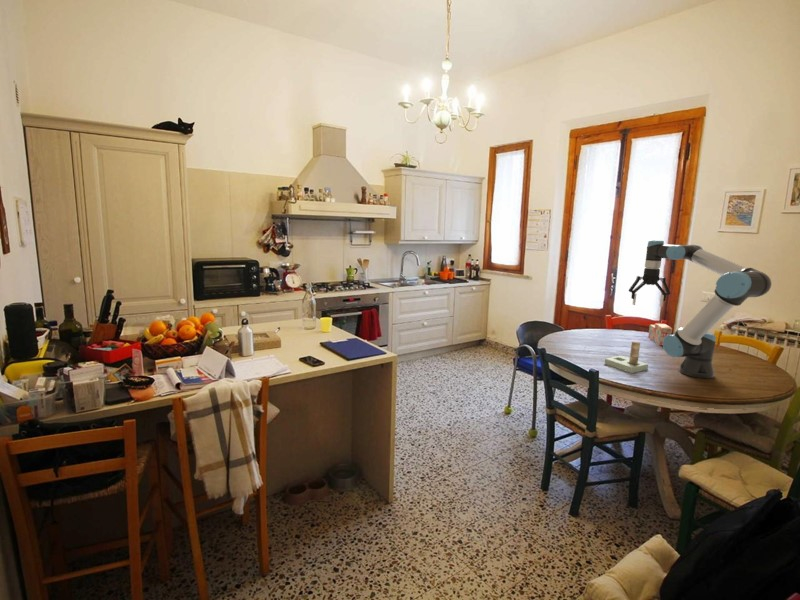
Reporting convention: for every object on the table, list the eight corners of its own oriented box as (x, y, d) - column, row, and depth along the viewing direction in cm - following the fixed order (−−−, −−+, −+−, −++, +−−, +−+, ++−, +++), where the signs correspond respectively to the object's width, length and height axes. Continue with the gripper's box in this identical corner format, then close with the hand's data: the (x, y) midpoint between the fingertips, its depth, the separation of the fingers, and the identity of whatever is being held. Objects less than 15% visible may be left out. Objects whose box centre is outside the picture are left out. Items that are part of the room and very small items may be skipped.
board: (647, 369, 225) (648, 364, 224) (631, 373, 219) (632, 367, 218) (620, 360, 239) (621, 355, 238) (604, 363, 233) (605, 358, 232)
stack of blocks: (647, 337, 293) (650, 320, 290) (657, 337, 291) (660, 320, 289) (659, 345, 272) (661, 327, 270) (669, 346, 271) (672, 328, 268)
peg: (638, 369, 224) (641, 342, 222) (633, 370, 223) (637, 343, 220) (631, 367, 228) (634, 340, 225) (626, 368, 226) (630, 341, 223)
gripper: (675, 268, 229) (670, 306, 233) (625, 266, 236) (621, 302, 240) (680, 270, 222) (674, 308, 226) (628, 267, 229) (624, 304, 233)
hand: (647, 305), depth 233 cm, fingers open, 13 cm apart
